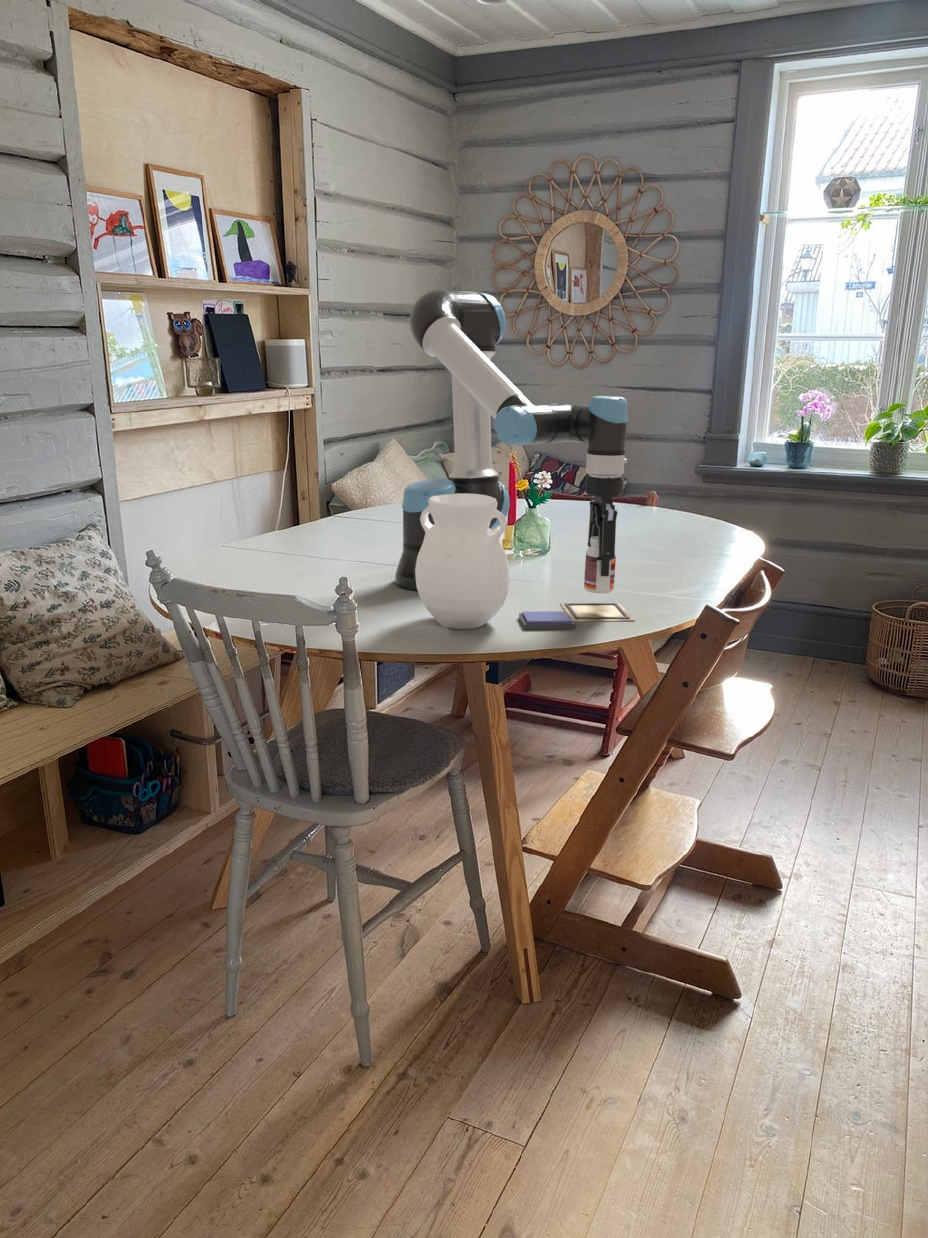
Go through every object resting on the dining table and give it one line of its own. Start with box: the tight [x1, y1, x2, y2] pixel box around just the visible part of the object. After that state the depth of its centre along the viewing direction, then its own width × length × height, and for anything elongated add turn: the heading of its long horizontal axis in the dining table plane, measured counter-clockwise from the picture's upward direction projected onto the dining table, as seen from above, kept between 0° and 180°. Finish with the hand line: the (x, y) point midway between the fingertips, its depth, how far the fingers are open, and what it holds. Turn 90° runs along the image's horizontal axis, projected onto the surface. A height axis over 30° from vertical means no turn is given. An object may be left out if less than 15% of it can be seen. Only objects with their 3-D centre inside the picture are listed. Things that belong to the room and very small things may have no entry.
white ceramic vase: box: [415, 493, 511, 630], centre depth 186 cm, size 19×18×25 cm
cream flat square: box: [559, 602, 636, 622], centre depth 199 cm, size 13×13×1 cm
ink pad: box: [518, 610, 576, 631], centre depth 190 cm, size 10×8×2 cm
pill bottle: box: [583, 536, 617, 594], centre depth 196 cm, size 6×6×11 cm
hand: (598, 586), depth 197 cm, fingers closed on pill bottle, 6 cm apart
